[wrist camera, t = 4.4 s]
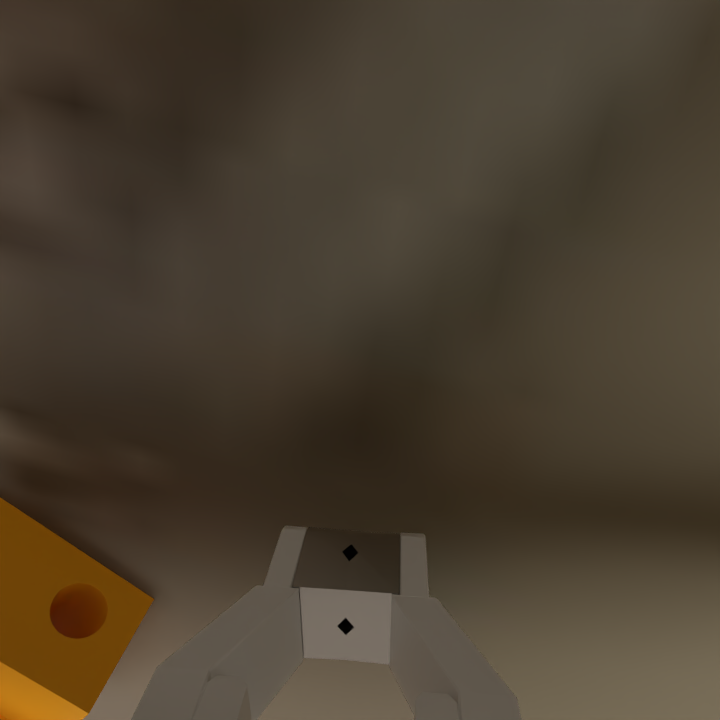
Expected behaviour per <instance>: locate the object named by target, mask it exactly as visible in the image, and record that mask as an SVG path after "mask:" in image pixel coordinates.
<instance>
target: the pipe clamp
mask: <svg viewBox="0 0 720 720" xmlns="http://www.w3.org/2000/svg"><path fill="white" fill-rule="evenodd" d="M153 600H154V599H153V598H152V597H150V596H149V595H147V594H146V593H144V592H143V591H141V590H140V589H138V588H137V587H135V586H134V585H132V584H131V583H129V582H127V581H126V580H124V579H123V578H121V577H120V576H118V575H117V574H115V573H114V572H112V571H111V570H109V569H108V568H106V567H105V566H103V565H102V564H100V563H99V562H97V561H96V560H94V559H93V558H91V557H90V556H88V555H87V554H85V553H84V552H82V551H81V550H79V549H78V548H76V547H75V546H73V545H72V544H70V543H68V542H67V541H65V540H64V539H62V538H61V537H59V536H58V535H56V534H55V533H53V532H52V531H50V530H49V529H47V528H46V527H44V526H43V525H41V524H40V523H38V522H37V521H35V520H34V519H32V518H31V517H29V516H28V515H26V514H25V513H23V512H22V511H20V510H19V509H17V508H16V507H14V506H13V505H11V504H9V503H8V502H6V501H5V500H3V499H2V498H0V720H82V719H83V718H84V717H85V716H87V715H88V714H89V712H90V711H91V709H92V707H93V705H94V704H95V702H96V700H97V698H98V697H99V695H100V693H101V691H102V690H103V688H104V686H105V684H106V683H107V681H108V679H109V677H110V676H111V674H112V672H113V670H114V668H115V667H116V665H117V663H118V661H119V660H120V658H121V656H122V654H123V653H124V651H125V649H126V647H127V646H128V644H129V642H130V640H131V639H132V637H133V635H134V633H135V632H136V630H137V628H138V626H139V625H140V623H141V621H142V619H143V618H144V616H145V614H146V612H147V611H148V609H149V607H150V605H151V604H152V602H153Z"/></svg>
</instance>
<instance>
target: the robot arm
mask: <svg viewBox="0 0 720 720" xmlns="http://www.w3.org/2000/svg"><path fill="white" fill-rule="evenodd" d="M303 658H318V659H339V660H352V661H361V662H370V663H379V664H388V665H389V667H390V669H391V671H392V673H393V675H394V677H395V679H396V681H397V683H398V685H399V687H400V689H401V691H402V693H403V695H404V697H405V699H406V701H407V703H408V704H409V706H410V708H411V710H412V712H413V714H414V720H521V715H520V710H519V706H518V701H517V697H516V696H515V695H514V694H513V693H512V691H511V690H510V689H509V688H508V686H507V685H506V684H505V683H504V681H503V680H502V679H501V678H500V676H499V675H498V674H497V673H496V671H495V670H494V669H493V668H492V666H491V665H490V664H489V663H488V661H487V660H486V659H485V658H484V656H483V655H482V654H481V653H480V651H479V650H478V649H477V648H476V646H475V645H474V644H473V643H472V641H471V640H470V639H469V638H468V636H467V635H466V634H465V633H464V631H463V630H462V629H461V628H460V626H459V625H458V624H457V623H456V621H455V620H454V619H453V618H452V616H451V615H450V614H449V613H448V611H447V610H446V609H445V608H444V606H443V605H442V604H441V603H440V601H439V600H438V599H437V598H433V597H429V584H428V568H427V551H426V537H425V535H424V534H423V533H401V534H400V533H391V532H372V531H352V530H340V529H328V528H316V527H308V528H307V527H298V526H286V525H285V526H284V528H283V529H282V530H281V533H280V536H279V539H278V542H277V545H276V548H275V551H274V554H273V557H272V560H271V563H270V566H269V569H268V572H267V575H266V578H265V581H264V584H263V586H257V585H256V586H255V587H253V588H252V589H251V590H250V591H249V592H247V593H246V594H245V595H244V596H243V597H241V598H240V599H239V600H238V601H236V602H235V603H234V604H233V605H232V606H230V607H229V608H228V609H227V610H226V611H224V612H223V613H222V614H221V615H219V616H218V617H217V618H216V619H215V620H213V621H212V622H211V623H210V624H209V625H207V626H206V627H205V628H204V629H202V630H201V631H200V632H199V633H198V634H196V635H195V636H194V637H193V638H192V639H190V640H189V641H188V642H187V643H186V644H184V645H183V646H182V647H181V648H179V649H178V650H177V651H176V652H175V653H173V654H172V655H171V656H170V657H169V658H167V659H166V660H165V661H164V662H162V663H161V664H160V665H159V666H158V667H157V668H156V670H155V672H154V674H153V676H152V678H151V680H150V682H149V684H148V686H147V688H146V690H145V692H144V694H143V696H142V698H141V700H140V702H139V704H138V707H137V709H136V711H135V713H134V715H133V717H132V719H131V720H257V719H258V717H259V716H260V715H261V714H262V712H263V711H264V710H265V709H266V707H267V706H268V705H269V704H270V702H271V701H272V700H273V698H274V697H275V696H276V695H277V693H278V692H279V691H280V690H281V688H282V687H283V686H284V684H285V683H286V682H287V681H288V679H289V678H290V677H291V676H292V674H293V673H294V672H295V671H296V669H297V668H298V667H299V665H300V664H301V663H302V662H303Z"/></svg>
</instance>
